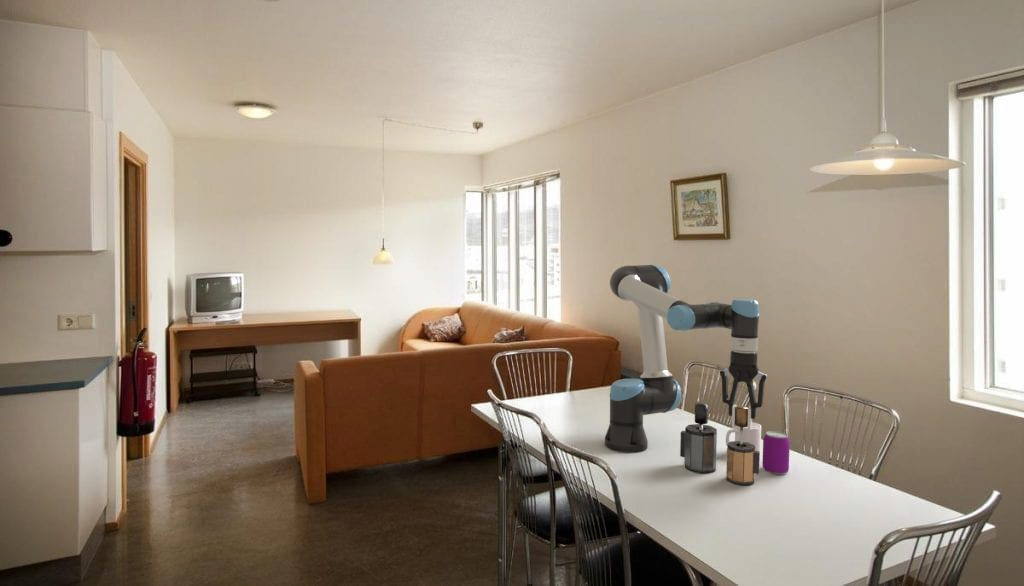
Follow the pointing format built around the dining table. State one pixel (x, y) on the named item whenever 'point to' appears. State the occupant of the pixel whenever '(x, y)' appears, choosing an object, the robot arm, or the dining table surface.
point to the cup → (748, 435)
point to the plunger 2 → (741, 420)
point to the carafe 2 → (742, 463)
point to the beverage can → (776, 452)
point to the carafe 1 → (699, 448)
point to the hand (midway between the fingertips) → (741, 427)
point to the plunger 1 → (701, 414)
